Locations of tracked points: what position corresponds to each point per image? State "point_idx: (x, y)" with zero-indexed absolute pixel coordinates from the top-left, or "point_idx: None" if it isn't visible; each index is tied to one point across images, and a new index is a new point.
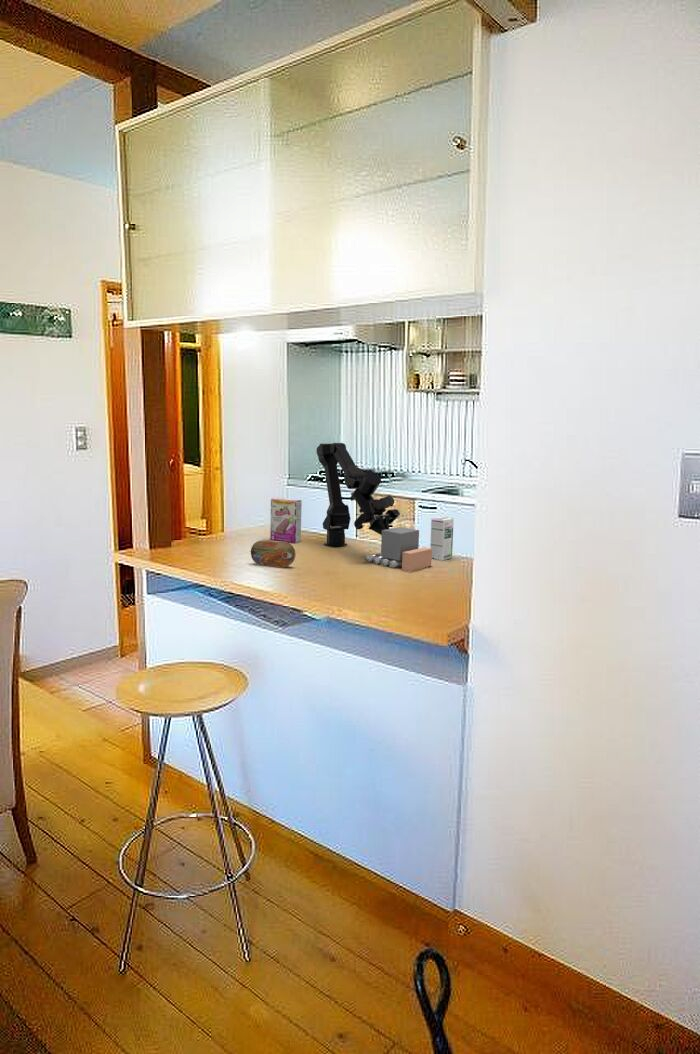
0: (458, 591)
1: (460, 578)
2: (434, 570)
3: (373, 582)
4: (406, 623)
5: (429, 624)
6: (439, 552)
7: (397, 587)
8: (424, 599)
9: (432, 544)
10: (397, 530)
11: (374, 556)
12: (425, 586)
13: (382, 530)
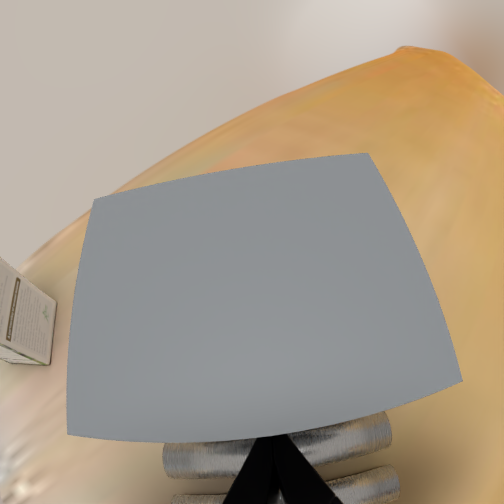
0: (331, 80)
1: (236, 123)
2: None
3: (494, 198)
4: (475, 73)
5: (451, 61)
6: (35, 305)
7: (449, 142)
8: (423, 88)
9: (8, 333)
10: (289, 280)
11: (353, 481)
12: (380, 117)
13: (458, 372)
